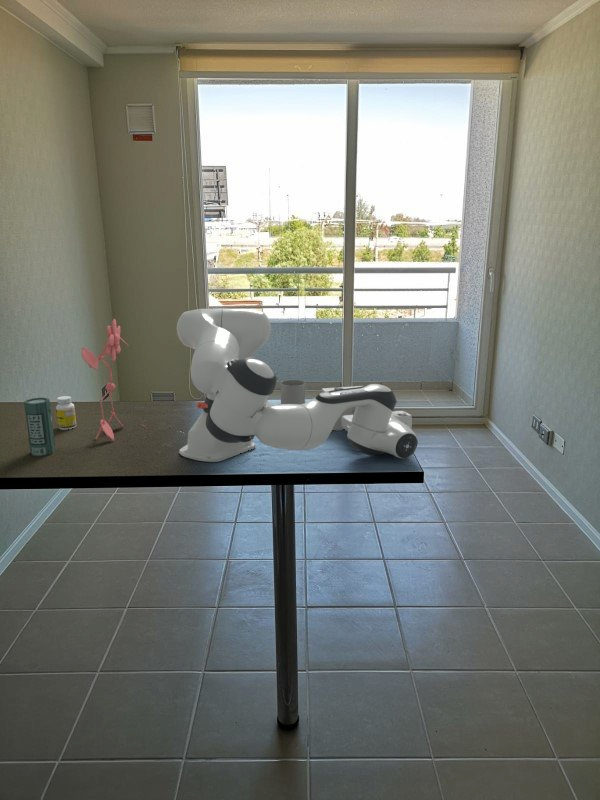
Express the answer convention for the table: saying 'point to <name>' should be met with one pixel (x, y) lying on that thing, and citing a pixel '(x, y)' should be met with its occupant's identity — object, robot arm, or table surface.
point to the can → (40, 426)
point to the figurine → (92, 361)
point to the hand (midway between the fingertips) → (366, 413)
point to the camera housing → (347, 412)
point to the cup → (292, 392)
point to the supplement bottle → (65, 413)
